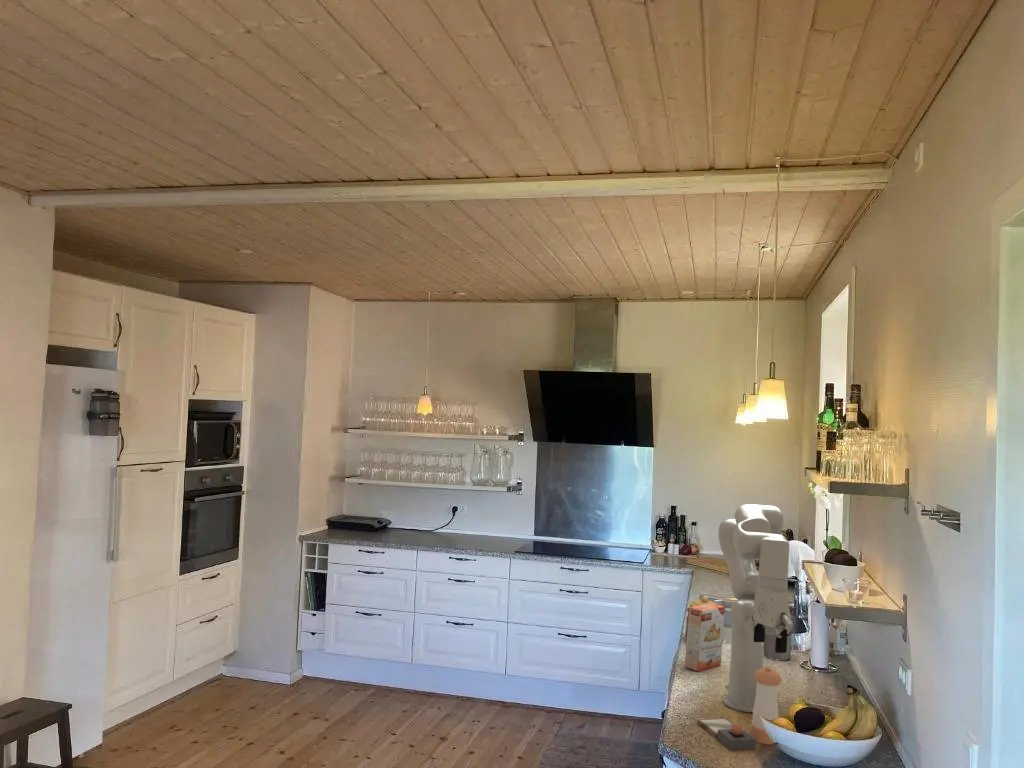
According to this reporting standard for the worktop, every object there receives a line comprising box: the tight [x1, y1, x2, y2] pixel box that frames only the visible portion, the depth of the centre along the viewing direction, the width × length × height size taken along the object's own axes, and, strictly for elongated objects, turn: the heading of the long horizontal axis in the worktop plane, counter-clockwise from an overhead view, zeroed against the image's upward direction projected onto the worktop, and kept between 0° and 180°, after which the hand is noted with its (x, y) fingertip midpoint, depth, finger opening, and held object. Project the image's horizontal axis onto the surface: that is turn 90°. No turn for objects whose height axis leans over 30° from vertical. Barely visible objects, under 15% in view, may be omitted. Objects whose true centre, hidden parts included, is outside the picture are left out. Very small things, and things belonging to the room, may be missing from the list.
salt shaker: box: [749, 666, 782, 746], centre depth 209 cm, size 7×7×19 cm
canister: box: [684, 595, 716, 642], centre depth 299 cm, size 13×13×18 cm
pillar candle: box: [763, 620, 793, 661], centre depth 286 cm, size 10×10×15 cm
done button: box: [732, 723, 743, 735], centre depth 204 cm, size 3×3×2 cm
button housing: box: [716, 729, 757, 751], centre depth 203 cm, size 7×7×2 cm
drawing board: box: [696, 717, 734, 739], centre depth 212 cm, size 10×9×1 cm
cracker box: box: [684, 603, 726, 672], centre depth 268 cm, size 14×6×21 cm, turn 131°
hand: (769, 647), depth 209 cm, fingers open, 9 cm apart
